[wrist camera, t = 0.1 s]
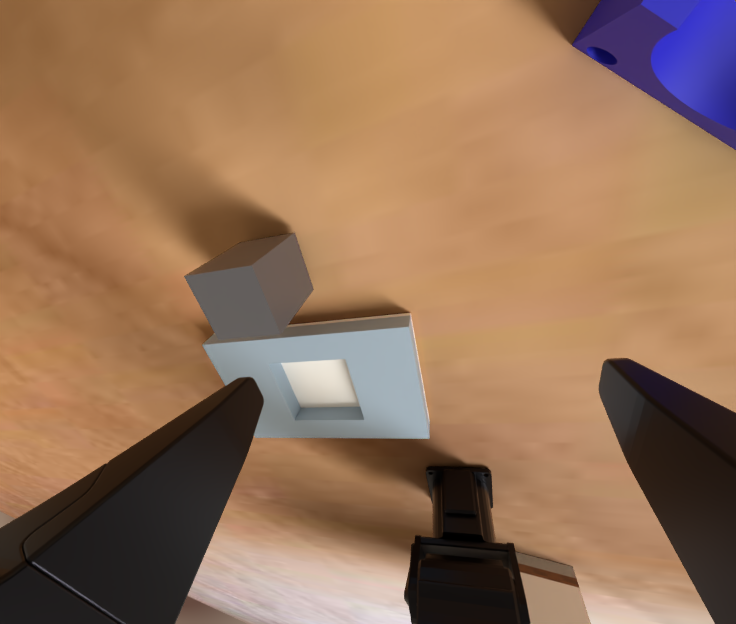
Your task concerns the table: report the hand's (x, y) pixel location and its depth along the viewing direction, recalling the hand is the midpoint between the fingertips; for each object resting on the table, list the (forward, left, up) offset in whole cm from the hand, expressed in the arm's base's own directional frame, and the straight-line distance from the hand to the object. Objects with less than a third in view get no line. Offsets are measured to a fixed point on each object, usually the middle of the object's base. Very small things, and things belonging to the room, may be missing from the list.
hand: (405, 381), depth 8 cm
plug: (-1, +11, -15) cm, 18 cm away
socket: (-12, +11, -15) cm, 22 cm away
